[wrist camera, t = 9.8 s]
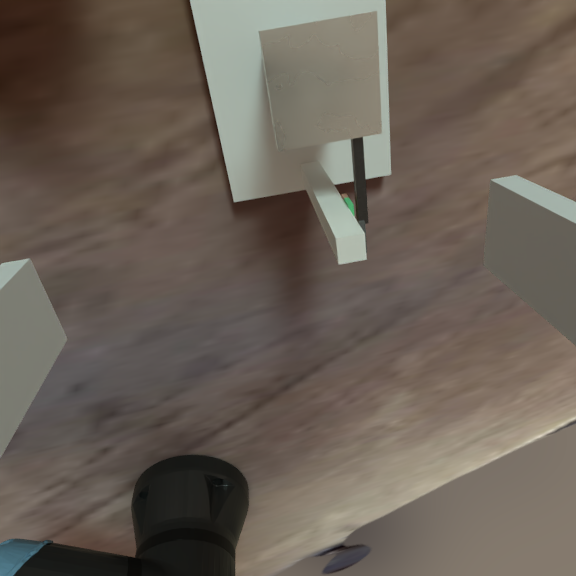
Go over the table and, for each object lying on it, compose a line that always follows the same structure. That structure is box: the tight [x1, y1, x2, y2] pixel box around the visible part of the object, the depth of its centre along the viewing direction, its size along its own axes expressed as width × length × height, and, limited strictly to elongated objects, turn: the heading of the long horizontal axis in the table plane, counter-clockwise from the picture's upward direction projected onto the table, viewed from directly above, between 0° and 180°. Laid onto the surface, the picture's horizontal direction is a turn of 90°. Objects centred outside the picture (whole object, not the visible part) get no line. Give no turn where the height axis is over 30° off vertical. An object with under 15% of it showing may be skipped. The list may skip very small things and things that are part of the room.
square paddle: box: [258, 11, 382, 224], centre depth 29 cm, size 6×12×10 cm, turn 8°
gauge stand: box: [190, 0, 391, 264], centre depth 29 cm, size 14×18×18 cm
